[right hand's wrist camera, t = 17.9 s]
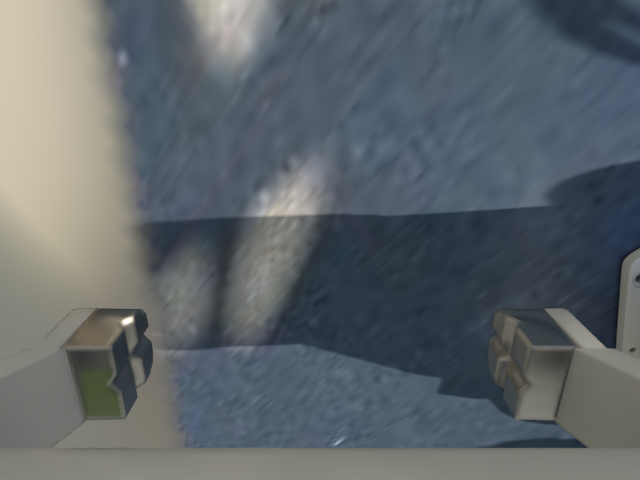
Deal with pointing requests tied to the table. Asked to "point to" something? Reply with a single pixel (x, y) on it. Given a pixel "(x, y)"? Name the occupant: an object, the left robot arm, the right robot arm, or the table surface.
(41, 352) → the right robot arm
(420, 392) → the table surface
